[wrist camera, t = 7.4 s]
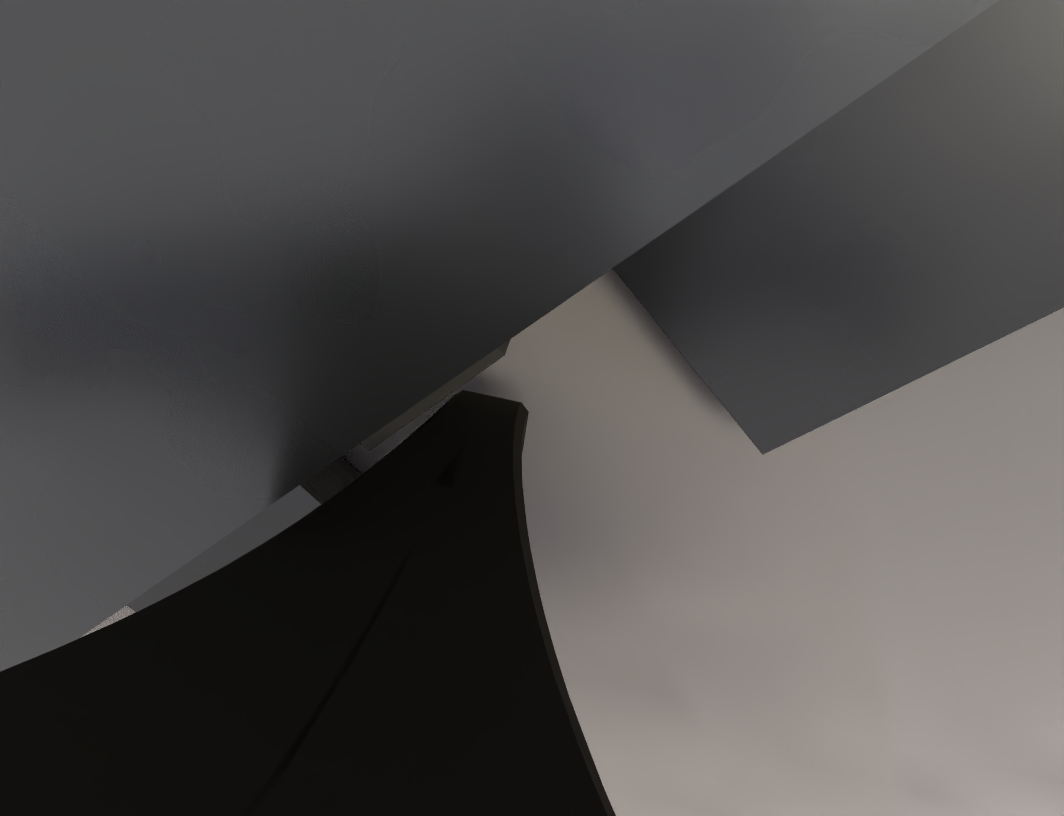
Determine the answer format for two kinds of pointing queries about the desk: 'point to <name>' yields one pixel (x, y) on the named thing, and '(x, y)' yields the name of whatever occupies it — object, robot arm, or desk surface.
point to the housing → (468, 235)
